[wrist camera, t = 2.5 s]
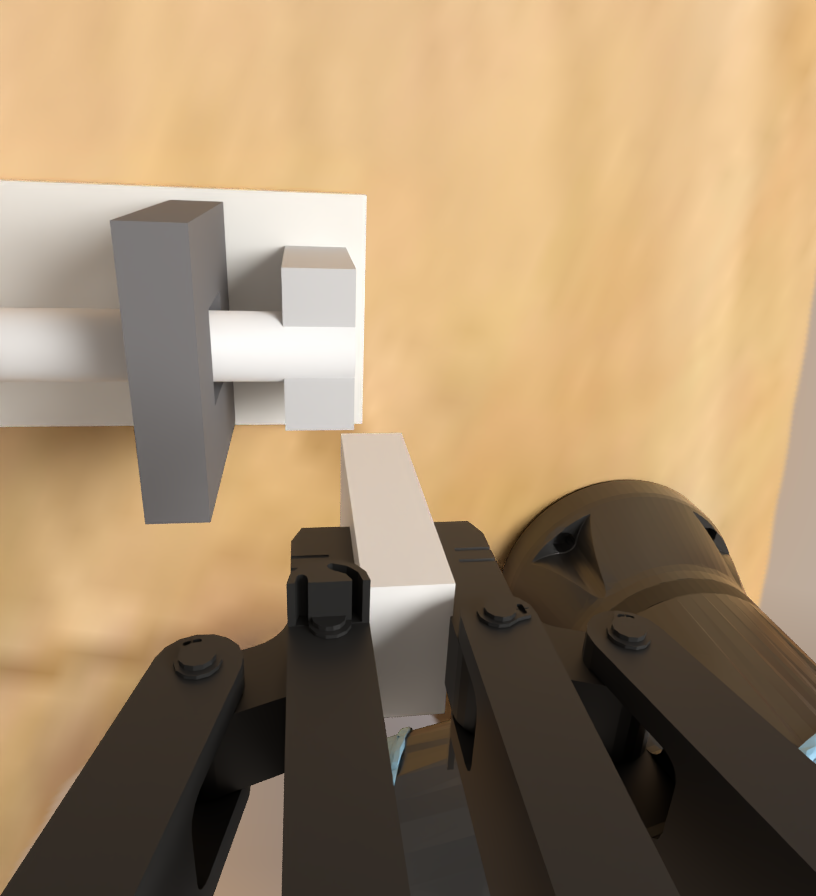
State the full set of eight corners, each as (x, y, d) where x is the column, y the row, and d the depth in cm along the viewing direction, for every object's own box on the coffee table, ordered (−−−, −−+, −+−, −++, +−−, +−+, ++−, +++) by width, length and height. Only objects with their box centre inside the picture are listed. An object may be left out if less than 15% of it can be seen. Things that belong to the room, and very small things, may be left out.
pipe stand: (364, 193, 35) (384, 206, 27) (360, 416, 40) (376, 486, 31) (-312, 166, 30) (-544, 171, 22) (-228, 420, 35) (-393, 503, 27)
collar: (223, 201, 32) (187, 222, 22) (235, 421, 37) (210, 522, 26) (170, 199, 32) (109, 220, 22) (188, 421, 36) (145, 524, 26)
